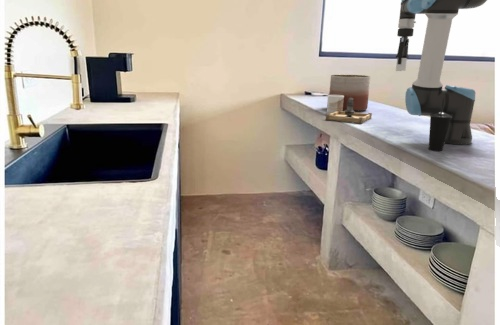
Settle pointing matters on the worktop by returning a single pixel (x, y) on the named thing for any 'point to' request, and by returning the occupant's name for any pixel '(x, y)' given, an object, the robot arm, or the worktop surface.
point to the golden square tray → (341, 117)
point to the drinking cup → (438, 129)
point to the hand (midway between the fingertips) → (400, 70)
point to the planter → (351, 90)
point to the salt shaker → (349, 108)
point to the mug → (335, 103)
